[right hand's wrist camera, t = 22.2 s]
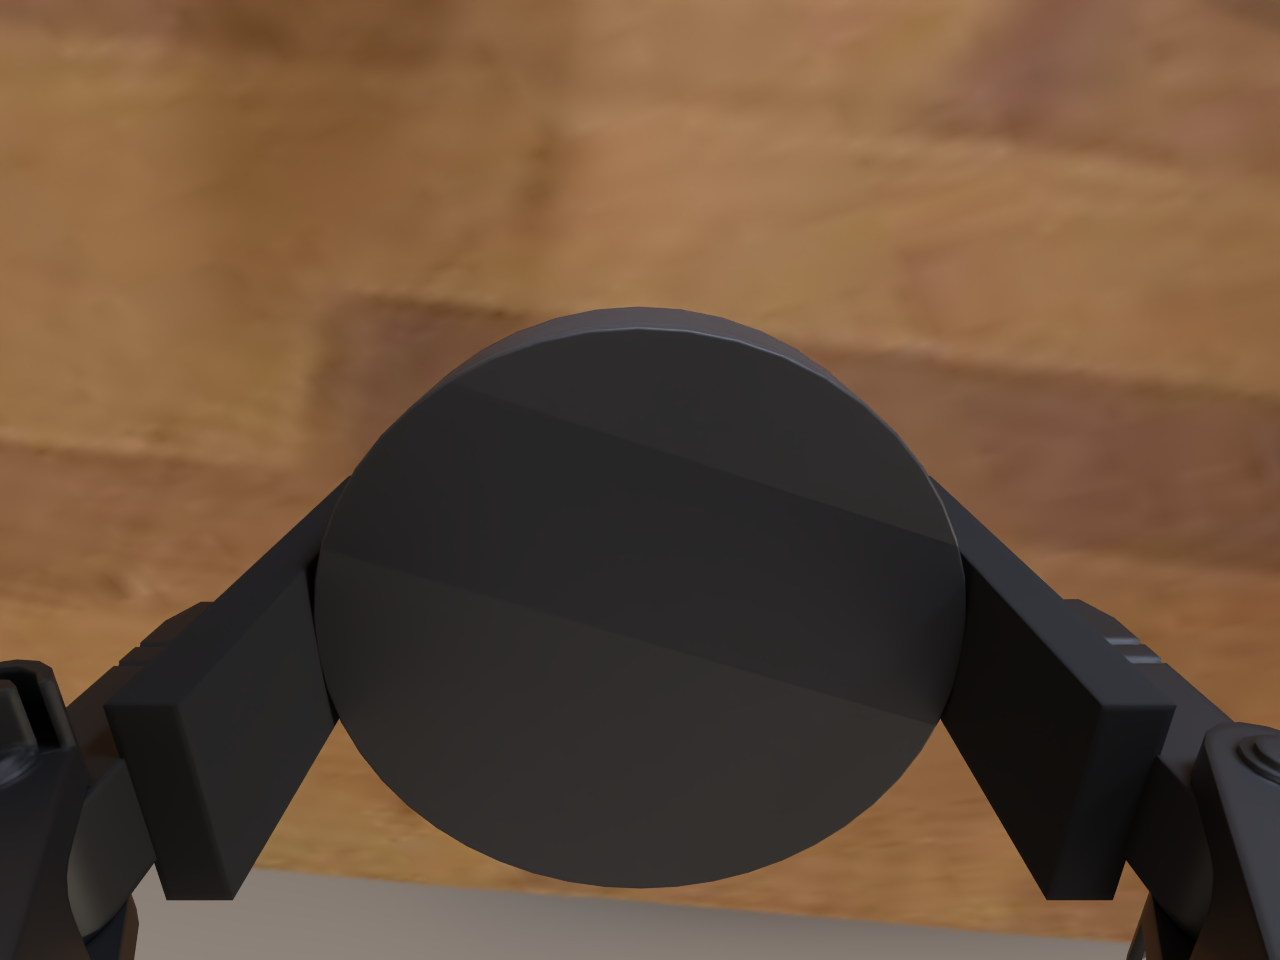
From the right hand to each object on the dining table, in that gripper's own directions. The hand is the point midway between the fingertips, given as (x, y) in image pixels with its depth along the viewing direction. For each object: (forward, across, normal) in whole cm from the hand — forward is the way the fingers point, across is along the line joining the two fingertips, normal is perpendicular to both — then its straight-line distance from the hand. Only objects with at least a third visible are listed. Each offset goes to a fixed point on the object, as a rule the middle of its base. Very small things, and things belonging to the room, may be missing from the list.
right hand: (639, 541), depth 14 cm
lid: (-3, 0, 0) cm, 3 cm away
